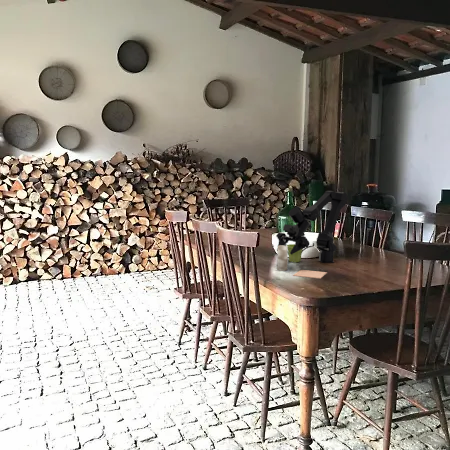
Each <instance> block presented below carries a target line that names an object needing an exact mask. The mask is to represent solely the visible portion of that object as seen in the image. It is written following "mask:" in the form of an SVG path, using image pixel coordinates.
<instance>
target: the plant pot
mask: <svg viewBox="0 0 450 450" xmlns="http://www.w3.org/2000/svg"><path fill="white" fill-rule="evenodd" d="M294 245H295V243H289V244H287V245H286V246H288V262H291V263H300V262H301V261H302V260H301V259H302V253H303V250H304V248H303V249H301V250H299V251H297V252H295V253H294V254H292V255H291V254H290V252H291V250H292V249H293V247H294Z"/></svg>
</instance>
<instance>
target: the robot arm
mask: <svg viewBox="0 0 450 450" xmlns="http://www.w3.org/2000/svg"><path fill="white" fill-rule="evenodd" d="M348 200H349V196H348V194H347V193H346V192H344V191H343V192H342V191H341V192H339V191H333V190H326V191H325V192H324V193H323V195H321V196H320V198H319V199H317V200H316V202H314V203H313V204H312V205H310V206H307V207H306V208H304V209H301V207H300V206H299V205H296V206H295V207H293V208H291V209H290V210H289V211H288V215H289V217H290V219H291V220H292V221H293V222H294V223H295V224H293V225H291V224H286V223H285V224H284V225H283V228H282V231H283V232H277V233H276V238H277V240H278V245H277V249H276V251H277V252H278V246H279V245H288V243H289V242H294V244H295V245H294V247H293V249H292V250H291V252H290V254H291V255H292V254H294V253H295V252H297V251H299V250H301V249H303V250H304V249H305V248H308V247H309V246H310V241H309V240H308V238H307V237H306V236H305V235H306V234H305V232H306V231H307V230H308V229H312V223H311V222H315V221H317V219H318V217H320V212H321V211H322V210H323V209H324V208H325V207H326V206H327V205H328V204H329V203H331V208H330V211H329V215H328V216H327V219H326V220H327V221H326V223H325V225H324V230H322V232H319V233H318V235H317V238H316V245H317V250H320V251H319V253H318V254H319V257H318V261H320V262H321V263H323V264H325V263H330V264H331V263H335V262H334V252H336V251H337V246H336V244H335V243H334V240H335V239H334V231H335V228H336V225H337V223H338V220H339V219H338V218H339V216H340V213H341V210H342V209H343V208H344V207H345V206H346V205H347V202H348ZM310 221H311V222H310Z"/></svg>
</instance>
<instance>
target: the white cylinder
mask: <svg viewBox="0 0 450 450" xmlns="http://www.w3.org/2000/svg"><path fill="white" fill-rule="evenodd" d="M277 248H278V252H277V257H276V258H277V259H276V261H277V262H276V263H277V267H276V271H281V272H285V271H288V260H289V255H288V246H286V245H279V246H278V245H277Z"/></svg>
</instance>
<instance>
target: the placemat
mask: <svg viewBox="0 0 450 450" xmlns="http://www.w3.org/2000/svg"><path fill="white" fill-rule="evenodd" d="M327 274H328V272H325V271H318V270H317V271H315V270H308V269H300V270H299V271H297V272H296V273H294V274H293V275H292V276H293V277H302V278H311V279H319V280H320V279H322V278H323V277H324V276H325V275H327Z"/></svg>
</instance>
